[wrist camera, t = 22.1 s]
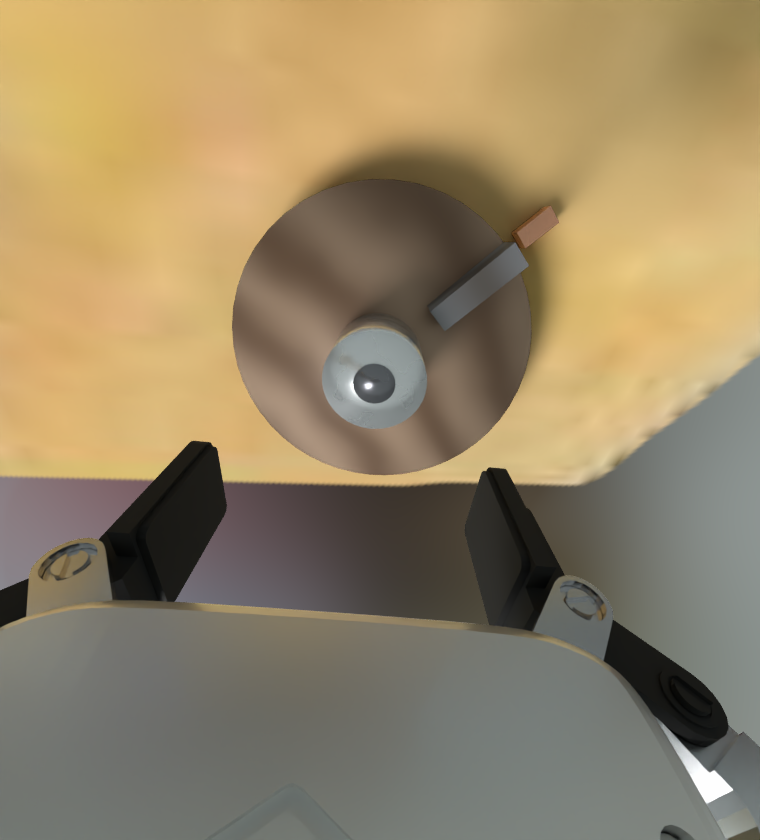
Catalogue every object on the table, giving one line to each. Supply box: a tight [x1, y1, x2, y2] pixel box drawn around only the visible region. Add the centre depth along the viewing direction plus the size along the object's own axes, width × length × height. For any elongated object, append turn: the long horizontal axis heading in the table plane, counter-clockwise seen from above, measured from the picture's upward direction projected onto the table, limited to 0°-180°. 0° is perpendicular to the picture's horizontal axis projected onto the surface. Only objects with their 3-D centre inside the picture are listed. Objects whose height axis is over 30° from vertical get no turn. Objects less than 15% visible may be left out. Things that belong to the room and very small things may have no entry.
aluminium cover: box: [322, 313, 427, 429], centre depth 23 cm, size 6×6×5 cm
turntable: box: [232, 179, 531, 475], centre depth 25 cm, size 22×22×4 cm
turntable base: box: [512, 206, 559, 248], centre depth 26 cm, size 16×16×1 cm
